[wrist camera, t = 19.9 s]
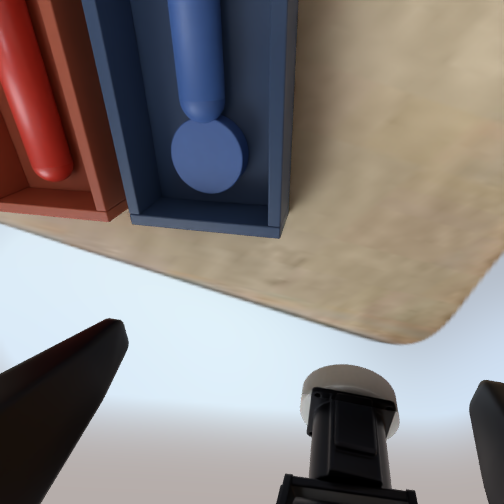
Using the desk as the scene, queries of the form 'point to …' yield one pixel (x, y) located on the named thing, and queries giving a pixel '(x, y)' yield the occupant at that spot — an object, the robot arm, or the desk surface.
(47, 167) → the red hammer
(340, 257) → the desk surface
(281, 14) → the near bin
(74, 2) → the far bin
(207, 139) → the blue spoon
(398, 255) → the desk surface
